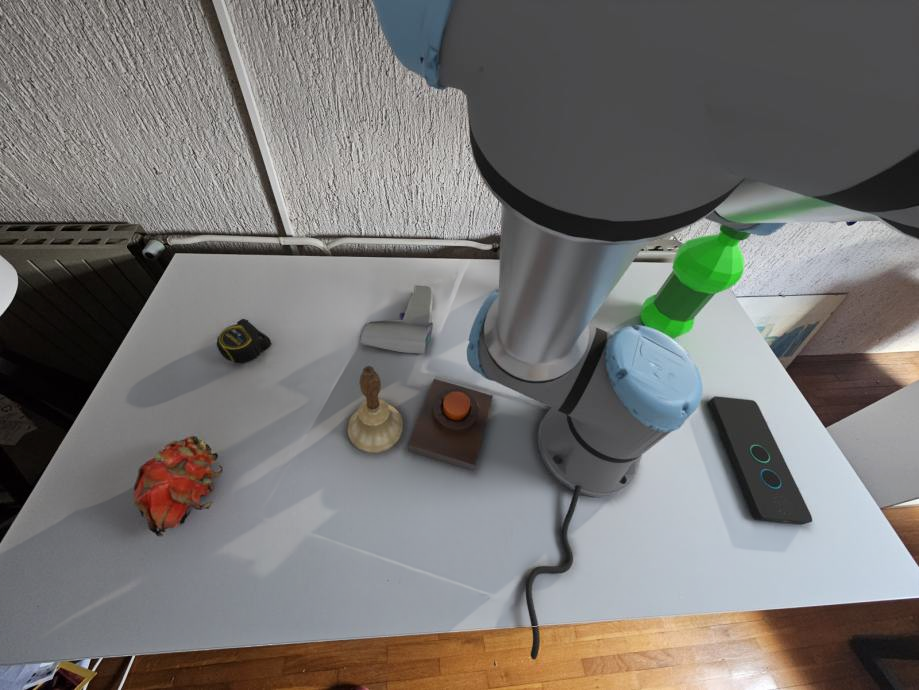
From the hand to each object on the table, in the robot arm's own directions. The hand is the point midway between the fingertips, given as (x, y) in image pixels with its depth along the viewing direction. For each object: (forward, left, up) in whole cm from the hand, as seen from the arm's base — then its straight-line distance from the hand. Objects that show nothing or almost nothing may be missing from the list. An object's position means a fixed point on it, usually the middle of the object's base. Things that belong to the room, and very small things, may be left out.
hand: (560, 296), depth 75 cm
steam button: (-31, +13, 0) cm, 33 cm away
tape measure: (-29, +50, -4) cm, 58 cm away
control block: (-32, +13, -3) cm, 34 cm away
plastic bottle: (+2, -21, -4) cm, 21 cm away
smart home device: (-22, -35, -4) cm, 41 cm away
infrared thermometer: (-15, +28, -4) cm, 32 cm away
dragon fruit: (-52, +43, -4) cm, 67 cm away
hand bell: (-36, +24, -4) cm, 43 cm away
